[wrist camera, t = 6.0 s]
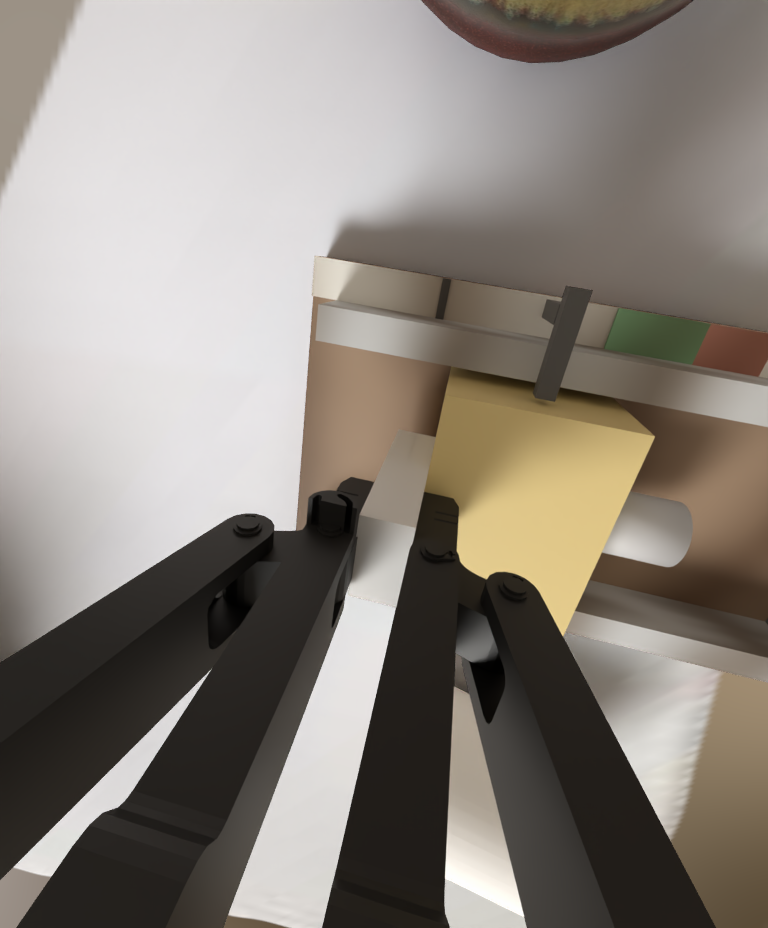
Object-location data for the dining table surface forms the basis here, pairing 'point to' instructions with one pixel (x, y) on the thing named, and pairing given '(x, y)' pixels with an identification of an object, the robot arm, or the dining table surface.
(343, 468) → the bench
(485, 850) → the mug
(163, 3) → the dining table surface
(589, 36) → the vase
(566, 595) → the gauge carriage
